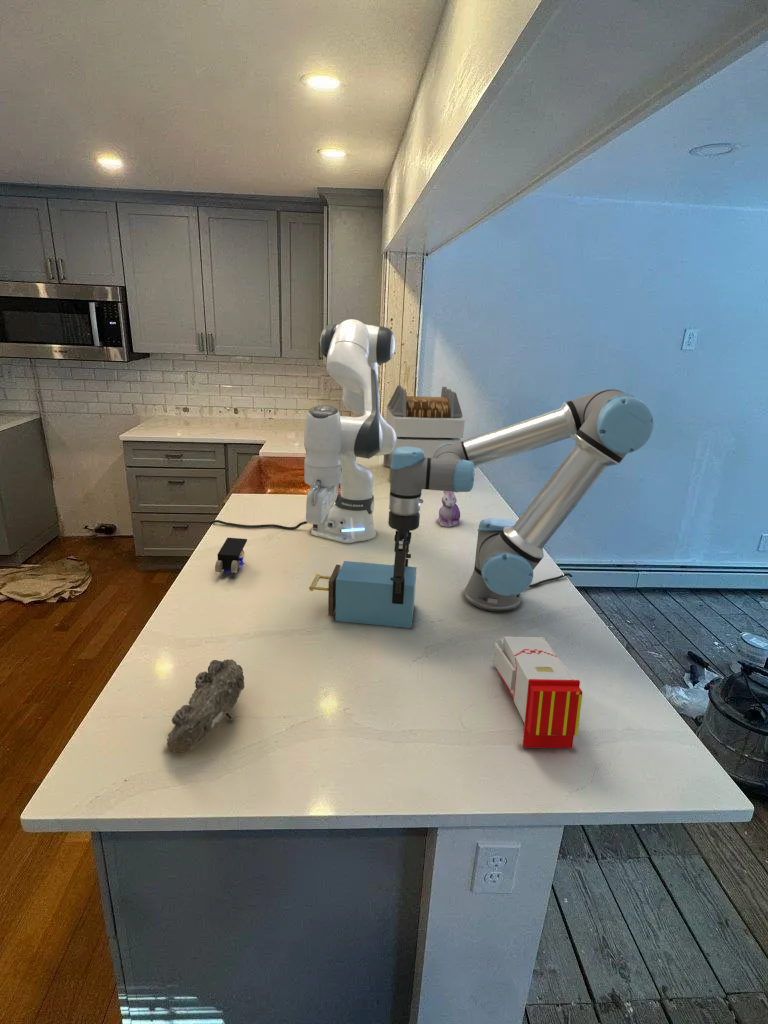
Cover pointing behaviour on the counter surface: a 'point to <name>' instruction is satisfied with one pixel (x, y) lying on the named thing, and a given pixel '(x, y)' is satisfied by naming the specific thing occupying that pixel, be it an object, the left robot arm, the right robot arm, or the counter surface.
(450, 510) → the figurine
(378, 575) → the cabinet
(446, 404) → the transformer
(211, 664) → the fossil
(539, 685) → the toy
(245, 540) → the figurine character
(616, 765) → the counter surface
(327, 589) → the drawer
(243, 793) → the counter surface
